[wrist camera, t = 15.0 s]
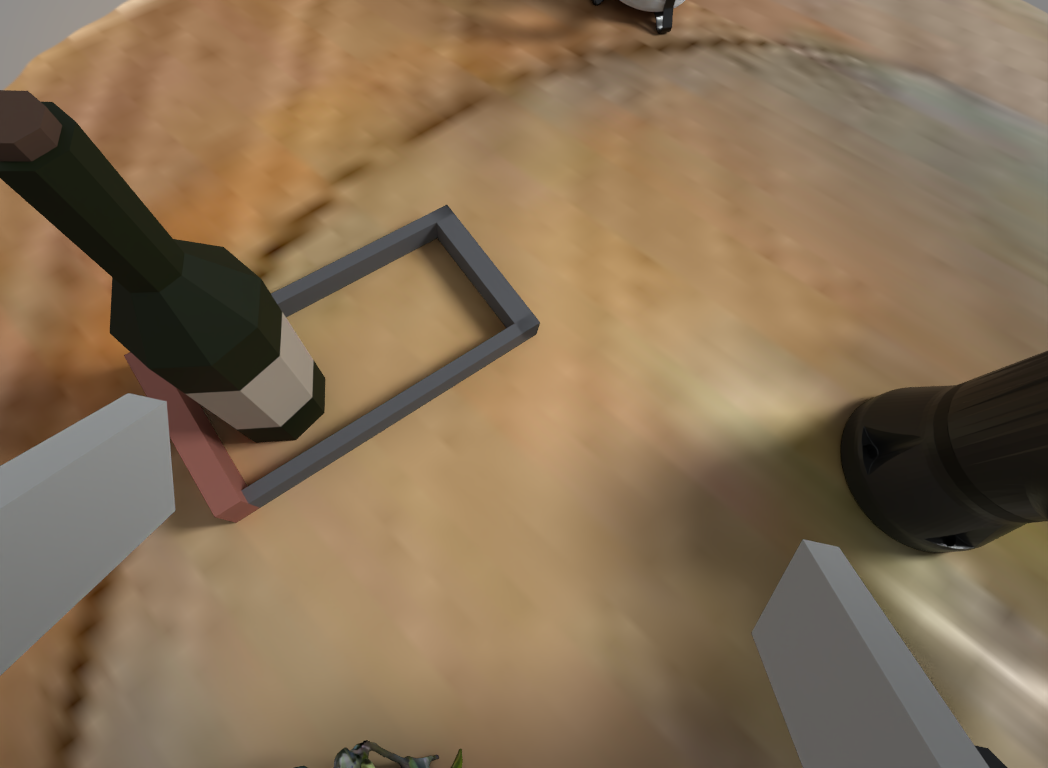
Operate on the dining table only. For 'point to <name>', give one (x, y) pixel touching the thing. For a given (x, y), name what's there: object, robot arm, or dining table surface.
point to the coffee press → (654, 10)
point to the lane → (238, 500)
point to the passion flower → (355, 762)
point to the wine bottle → (165, 282)
